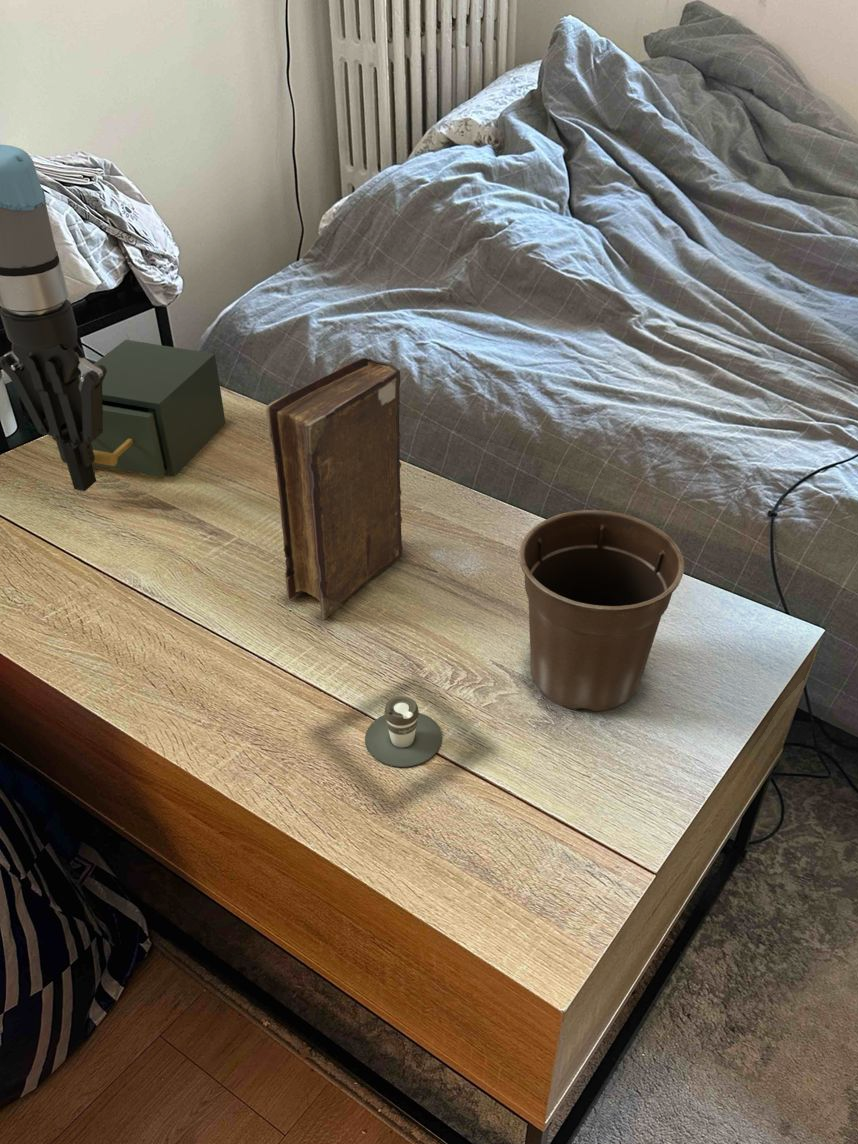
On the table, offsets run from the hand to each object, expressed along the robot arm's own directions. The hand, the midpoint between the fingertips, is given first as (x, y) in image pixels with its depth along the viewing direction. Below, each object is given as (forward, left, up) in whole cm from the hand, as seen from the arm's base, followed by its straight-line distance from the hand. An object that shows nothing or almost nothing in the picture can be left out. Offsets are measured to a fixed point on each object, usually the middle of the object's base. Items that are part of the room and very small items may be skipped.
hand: (85, 484), depth 124 cm
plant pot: (+68, -14, -3) cm, 69 cm away
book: (+38, -5, -3) cm, 38 cm away
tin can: (0, +12, -1) cm, 12 cm away
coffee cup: (+52, -29, -3) cm, 59 cm away
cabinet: (0, +17, -3) cm, 18 cm away
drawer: (0, +12, -2) cm, 12 cm away
